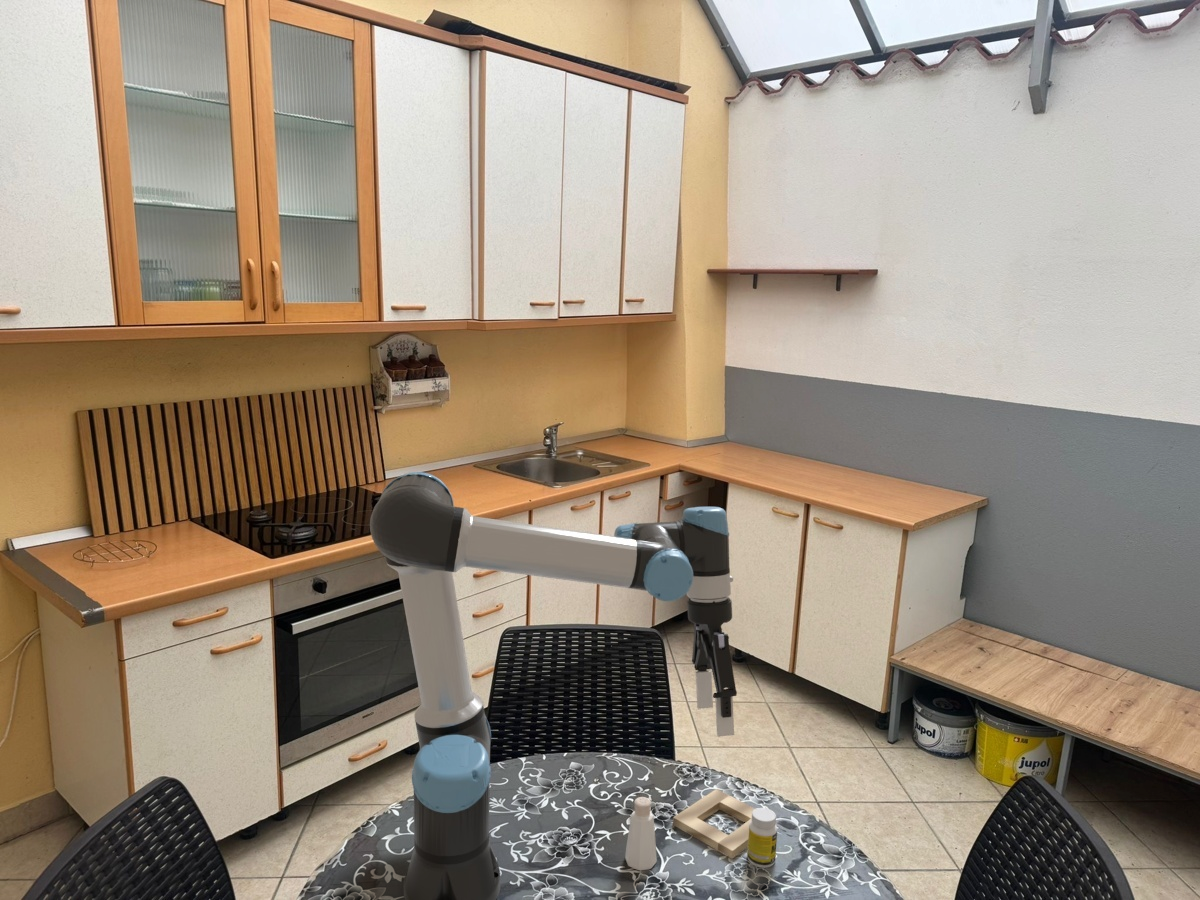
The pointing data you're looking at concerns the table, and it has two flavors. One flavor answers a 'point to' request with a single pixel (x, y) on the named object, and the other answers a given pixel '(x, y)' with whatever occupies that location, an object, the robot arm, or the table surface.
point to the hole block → (708, 834)
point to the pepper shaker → (641, 837)
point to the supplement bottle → (762, 838)
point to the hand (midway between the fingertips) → (714, 720)
